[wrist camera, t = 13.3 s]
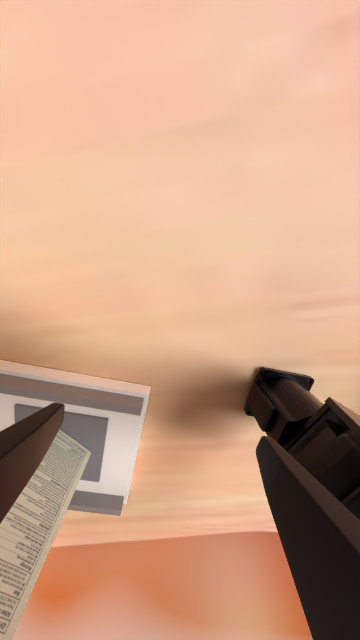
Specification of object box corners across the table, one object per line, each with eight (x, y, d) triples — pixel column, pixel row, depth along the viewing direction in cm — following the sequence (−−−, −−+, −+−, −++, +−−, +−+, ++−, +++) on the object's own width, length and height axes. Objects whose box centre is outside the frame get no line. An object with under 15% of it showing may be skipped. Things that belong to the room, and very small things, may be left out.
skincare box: (27, 440, 21) (-155, 656, 9) (52, 420, 20) (-112, 626, 9) (70, 470, 23) (-43, 688, 11) (95, 452, 22) (2, 665, 10)
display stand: (151, 386, 22) (147, 404, 19) (129, 491, 26) (123, 518, 23) (-12, 357, 20) (-43, 373, 17) (-3, 474, 25) (-27, 501, 22)
